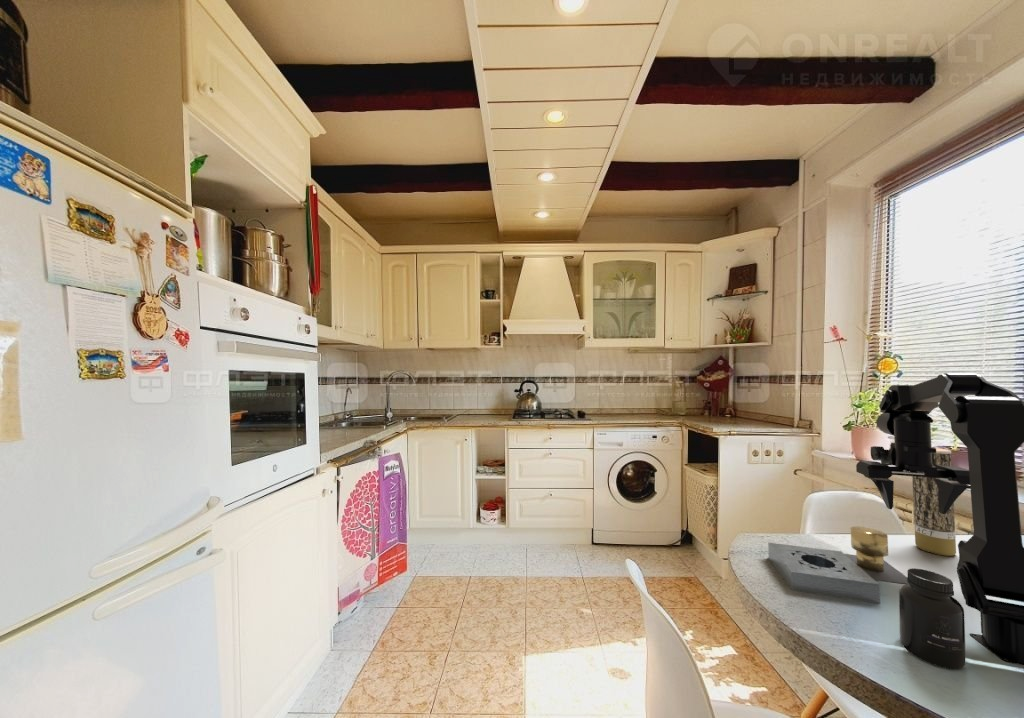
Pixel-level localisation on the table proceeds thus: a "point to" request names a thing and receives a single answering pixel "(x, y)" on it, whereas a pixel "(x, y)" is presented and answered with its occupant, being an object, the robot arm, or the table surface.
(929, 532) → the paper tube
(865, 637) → the table surface
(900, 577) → the rubber mat
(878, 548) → the end cover
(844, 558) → the housing
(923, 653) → the supplement bottle
